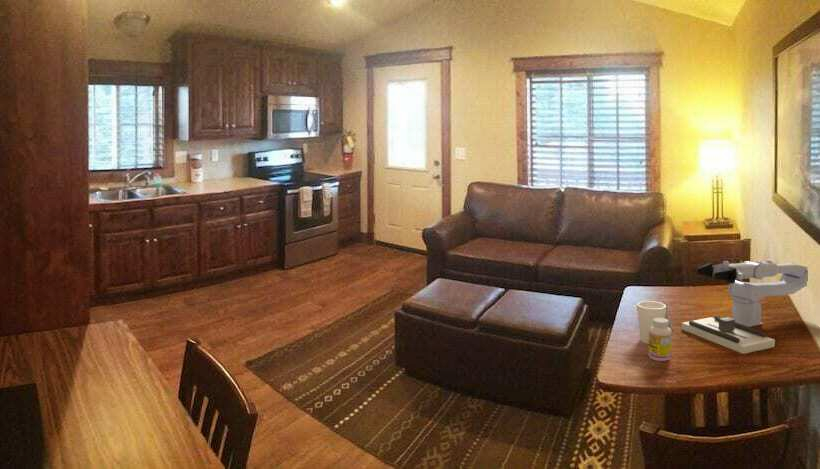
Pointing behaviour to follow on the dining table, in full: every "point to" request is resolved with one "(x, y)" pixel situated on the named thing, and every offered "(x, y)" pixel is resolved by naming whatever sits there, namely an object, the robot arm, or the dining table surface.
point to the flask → (667, 316)
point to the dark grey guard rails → (725, 333)
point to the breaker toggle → (726, 324)
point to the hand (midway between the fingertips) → (706, 273)
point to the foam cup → (648, 316)
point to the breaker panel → (747, 339)
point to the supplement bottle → (660, 340)
